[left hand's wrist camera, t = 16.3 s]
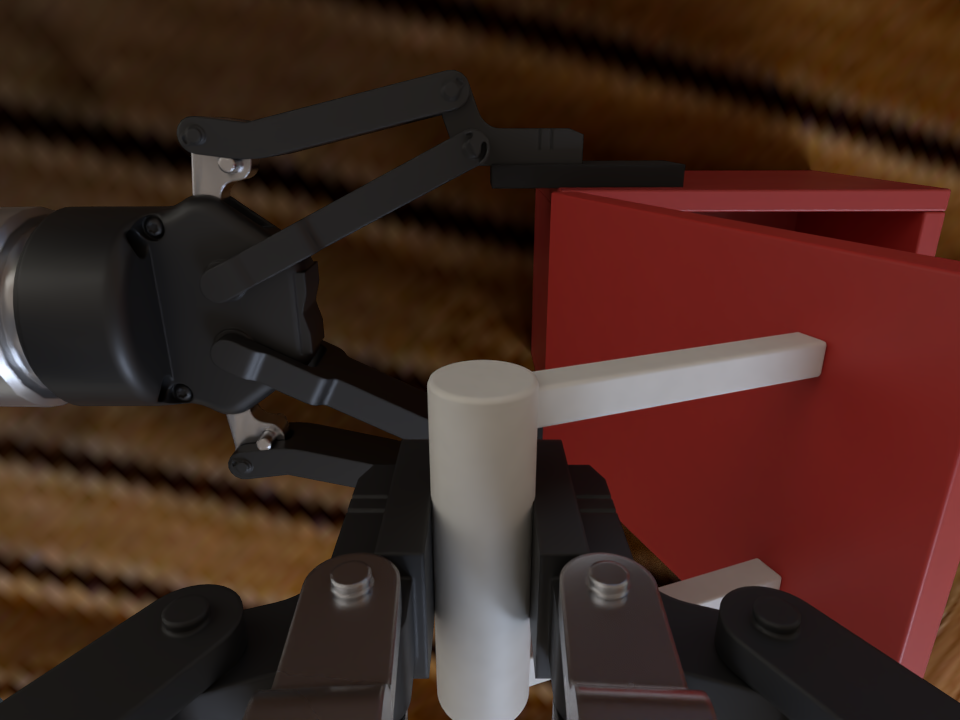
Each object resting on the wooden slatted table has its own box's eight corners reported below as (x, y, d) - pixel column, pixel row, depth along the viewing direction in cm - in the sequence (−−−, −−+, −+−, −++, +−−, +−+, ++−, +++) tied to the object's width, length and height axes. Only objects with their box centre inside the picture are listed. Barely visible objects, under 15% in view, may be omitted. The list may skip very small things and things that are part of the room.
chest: (812, 170, 30) (952, 189, 21) (780, 353, 33) (891, 436, 24) (536, 170, 30) (560, 190, 21) (531, 354, 33) (550, 437, 24)
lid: (1049, 276, 9) (514, 348, 6) (903, 748, 12) (503, 939, 9) (574, 191, 21) (315, 202, 18) (563, 441, 24) (340, 485, 21)
